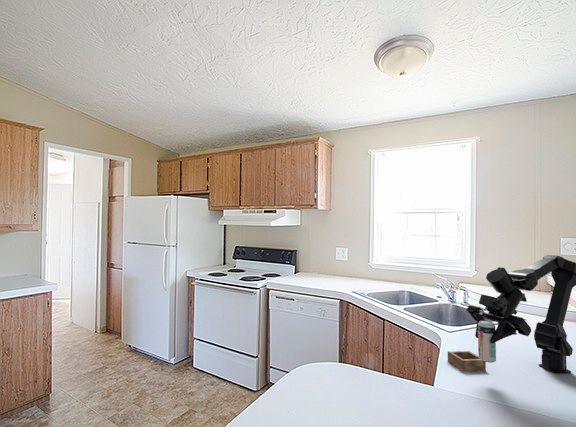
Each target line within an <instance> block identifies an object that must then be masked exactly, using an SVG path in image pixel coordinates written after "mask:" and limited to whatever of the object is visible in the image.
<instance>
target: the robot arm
mask: <svg viewBox="0 0 576 427" xmlns="http://www.w3.org/2000/svg"><path fill="white" fill-rule="evenodd" d="M550 273H551V274H550ZM548 274H550V275H551V277H552V279H553V283H554V285H553V289H552V294H551V297H550V301H549V304H548V309H547V312H546V316H545V319H544V320H543V321H542V322H540V321H538V322H537V323H536V326H535V329H534V332H533V340H534V342H535V345H536V348H537V349H541V363H539V364H538V366H539V367H541V368H542V369H543V368H544V369H545V370H548V371H550V372H552V373H555V374H563V373H566V374H568V373H572V371H571V370H570V369H567V357H571V356H572V355H573V351H574V348H573V347H572V346H571V345H570V343H569V342H568V341H567V338H568V335H567V332H566V330H565V327H564V322H565V319H566V314H567V310H568V307H569V304H570V298H571V296H572V290H573V288H574V287H576V262H575V261H572V260H569V259H566V258H564V257H563V256H560V255H552V254H551V255H549V254H546V255H544V256H543V258H541V259H540V260H538V261H536V262H534V263H533V264H531V265H529V266H528V267H525V268H524V269H523V268H522V269H515V270H512V271H510V272H508V270H506V268H505V267H501V266H500V267H499V266H498V267H497V268H496V269H493V270H491V271H490V272H488V273H487V274H486V277H485V278H486V281H487V282H488V283H489V284H490V286H491V287H492V288H493V289H494V291H495V293H499V295H498V296H497V297H494V296H491V295H486V294H481V295H480V297H479V300H478V304H479V305H482V306H484V309H485V311H487V312H485V311H484V309H482V307H481V306H477V305H474V304H473V305H472V304H471V305H468V306H467V308H466V309H465V310H466V312H467V313H468V314H469V316H470V317H471V318H472V319H473V320H474V321H476V327H475V334H474V335H475V338H476V339H478V323H479V321H491V322H496V323H497V327H496V328H495V332H494V334H493V335H492V337H491V339H490V342H491V343H495V342H499V341H501V340H503V339H505V338H508V337H510V336H513V335H515V336H517V334H519V335H521V336H526V337H529V336H530V335H531V333H532V328H531V326H530V325H529V323H527V321H526V320H525V318H524V317H520V316H517V314H518V311H517V308H518V307H519V305H520V303H521V302H524V303H526V302H527V298H526V294H525V293H523V292H522V291H527V292H531V291H533V290H534V289H535V288H536V287H537V286H538V285H539V280H540V279H541V278H543V277H545V276H547V275H548Z"/></svg>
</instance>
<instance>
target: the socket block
mask: <svg viewBox="0 0 576 427" xmlns="http://www.w3.org/2000/svg"><path fill="white" fill-rule="evenodd" d="M447 362H448V363H450V364H451V365H453V366H454V367H456V368H457V369H459V370H461V371H462V372H470V371H471V372H472V371H473V372H474V371H475V372H476V371H487V370H486V367H487V366H486V364H487V362H484V361H482V360H481V359H480V358H479V355H478V354H476V353H473V352H472V351H469V350H453V351H452V350H451V351H447Z"/></svg>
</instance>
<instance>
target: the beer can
mask: <svg viewBox="0 0 576 427" xmlns="http://www.w3.org/2000/svg"><path fill="white" fill-rule="evenodd" d="M495 330H496V325H495V323H494V322H493V321H490V320H488V321H479V323H478V338H477V341H478V343H477V345H478V346H477V347H478V352H477V353H478V356H479V358H480V359H481V360H482V361H484V362H486V363H489V364H491V363H492V364H493V363H495V362H497V346H496V342H495V343H491V342H490V339H491V337H492V335H493V334H494V332H495Z"/></svg>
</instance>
